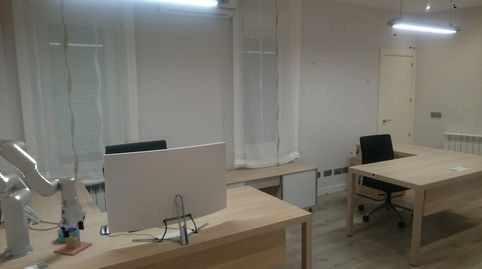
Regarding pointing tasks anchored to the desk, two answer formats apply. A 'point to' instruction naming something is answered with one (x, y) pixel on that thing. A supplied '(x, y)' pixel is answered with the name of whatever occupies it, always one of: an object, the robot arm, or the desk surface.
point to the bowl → (72, 232)
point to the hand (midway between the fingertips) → (74, 233)
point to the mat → (71, 255)
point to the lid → (73, 246)
